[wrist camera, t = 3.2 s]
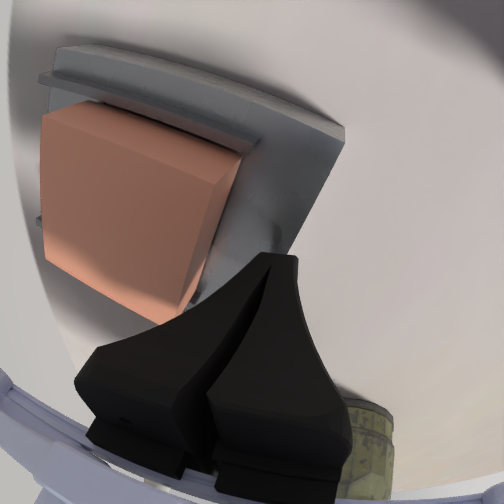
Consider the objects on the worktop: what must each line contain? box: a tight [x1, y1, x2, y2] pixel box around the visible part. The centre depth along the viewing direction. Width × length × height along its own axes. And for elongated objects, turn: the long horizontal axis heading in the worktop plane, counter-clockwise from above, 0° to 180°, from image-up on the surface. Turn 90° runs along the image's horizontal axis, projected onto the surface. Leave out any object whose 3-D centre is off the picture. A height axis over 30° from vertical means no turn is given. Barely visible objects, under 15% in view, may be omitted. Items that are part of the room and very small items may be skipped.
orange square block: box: [40, 100, 243, 325], centre depth 11 cm, size 6×6×2 cm
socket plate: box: [36, 44, 345, 310], centre depth 13 cm, size 12×10×3 cm
